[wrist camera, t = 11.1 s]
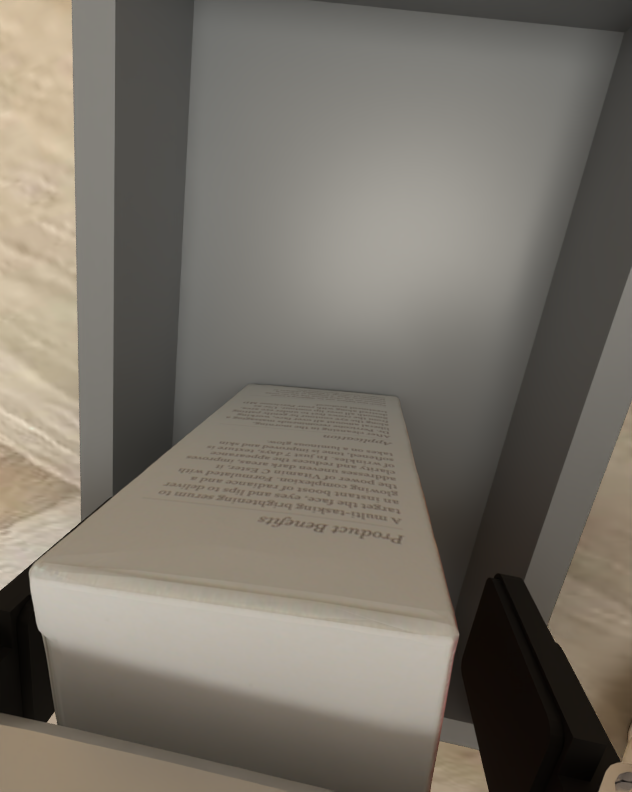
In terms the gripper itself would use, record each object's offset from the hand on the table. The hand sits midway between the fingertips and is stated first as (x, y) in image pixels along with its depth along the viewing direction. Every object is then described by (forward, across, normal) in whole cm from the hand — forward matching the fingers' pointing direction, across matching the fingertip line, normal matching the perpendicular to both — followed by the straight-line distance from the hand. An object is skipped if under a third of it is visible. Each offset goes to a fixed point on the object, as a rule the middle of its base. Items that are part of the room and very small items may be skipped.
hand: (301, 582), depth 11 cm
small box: (+5, 0, 0) cm, 5 cm away
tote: (+6, 0, -5) cm, 8 cm away
